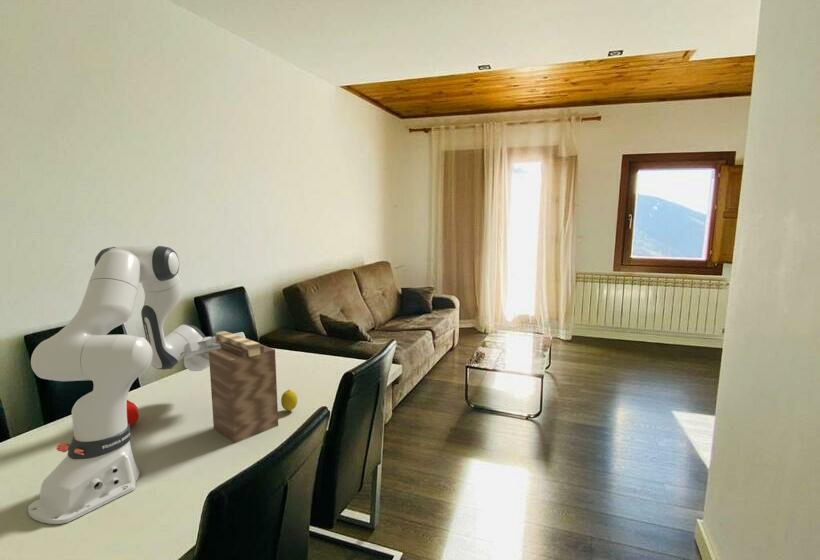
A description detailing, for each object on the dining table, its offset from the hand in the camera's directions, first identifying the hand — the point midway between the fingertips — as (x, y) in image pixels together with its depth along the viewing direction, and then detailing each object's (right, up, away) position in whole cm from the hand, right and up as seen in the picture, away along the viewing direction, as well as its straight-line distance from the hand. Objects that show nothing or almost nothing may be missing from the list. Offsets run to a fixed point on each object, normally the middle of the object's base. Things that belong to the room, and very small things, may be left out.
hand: (223, 337), depth 144 cm
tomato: (-32, -30, -6) cm, 44 cm away
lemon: (+20, -28, +8) cm, 35 cm away
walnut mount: (+9, -29, -4) cm, 31 cm away
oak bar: (+6, -3, -5) cm, 8 cm away
